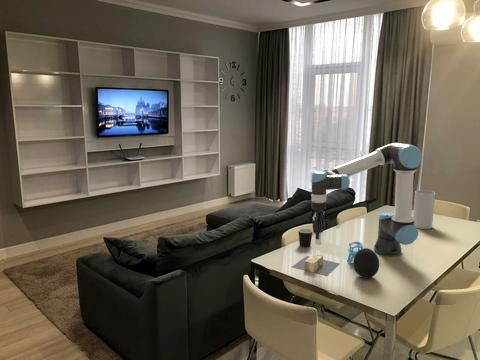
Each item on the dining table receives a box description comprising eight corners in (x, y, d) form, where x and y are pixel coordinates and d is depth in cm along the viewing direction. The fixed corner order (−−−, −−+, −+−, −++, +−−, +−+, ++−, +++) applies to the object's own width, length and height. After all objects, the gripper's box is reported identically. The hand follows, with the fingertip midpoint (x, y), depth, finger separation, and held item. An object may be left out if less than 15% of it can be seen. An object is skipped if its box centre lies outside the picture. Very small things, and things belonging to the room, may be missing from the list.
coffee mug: (308, 249, 233) (309, 234, 231) (295, 247, 237) (296, 231, 235) (316, 244, 242) (316, 228, 241) (303, 241, 247) (303, 226, 245)
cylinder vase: (433, 225, 276) (436, 191, 271) (430, 230, 266) (434, 195, 261) (414, 223, 283) (416, 189, 278) (411, 227, 272) (413, 192, 268)
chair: (345, 260, 217) (346, 240, 214) (360, 260, 216) (361, 240, 214) (349, 266, 209) (349, 245, 207) (364, 266, 209) (365, 245, 207)
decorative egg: (382, 282, 190) (384, 253, 187) (358, 283, 189) (359, 254, 186) (372, 271, 202) (373, 244, 200) (349, 272, 201) (350, 245, 199)
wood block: (323, 255, 209) (313, 263, 200) (322, 264, 210) (313, 272, 200) (314, 253, 212) (304, 261, 202) (314, 262, 213) (304, 270, 203)
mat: (340, 264, 211) (340, 263, 211) (326, 277, 196) (326, 276, 196) (306, 256, 223) (306, 255, 222) (291, 268, 207) (291, 267, 207)
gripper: (317, 197, 210) (316, 239, 215) (306, 203, 200) (306, 246, 204) (330, 199, 206) (329, 241, 211) (320, 205, 196) (319, 249, 200)
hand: (318, 244), depth 208 cm, fingers closed
